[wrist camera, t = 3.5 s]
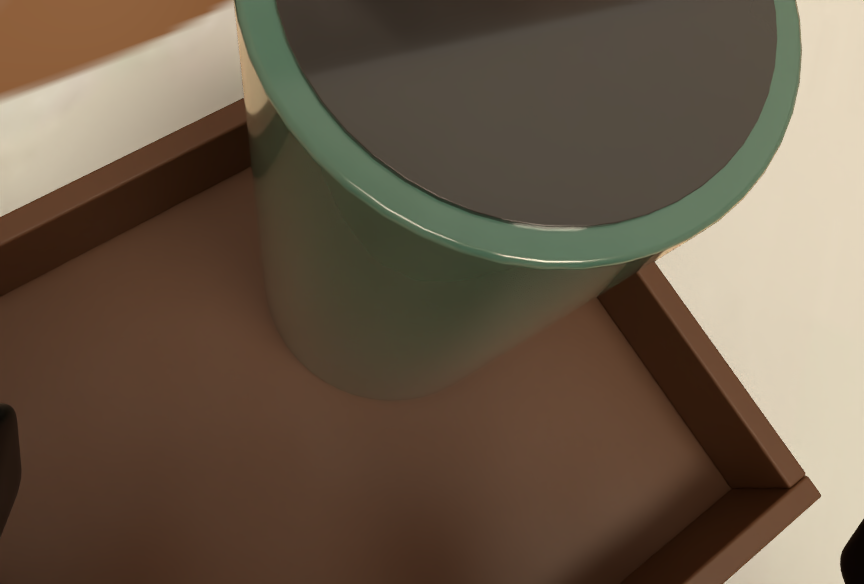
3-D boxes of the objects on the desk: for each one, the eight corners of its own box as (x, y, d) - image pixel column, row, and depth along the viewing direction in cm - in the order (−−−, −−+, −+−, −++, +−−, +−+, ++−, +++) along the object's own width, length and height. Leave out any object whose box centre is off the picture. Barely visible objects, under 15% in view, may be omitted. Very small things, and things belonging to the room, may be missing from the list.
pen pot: (558, 286, 20) (908, 28, 9) (386, 456, 18) (552, 403, 7) (395, 116, 21) (529, -341, 9) (208, 265, 19) (89, -83, 7)
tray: (742, 494, 21) (823, 496, 18) (176, 975, 16) (149, 1095, 13) (436, 59, 22) (461, -10, 19) (-164, 370, 17) (-263, 344, 14)
